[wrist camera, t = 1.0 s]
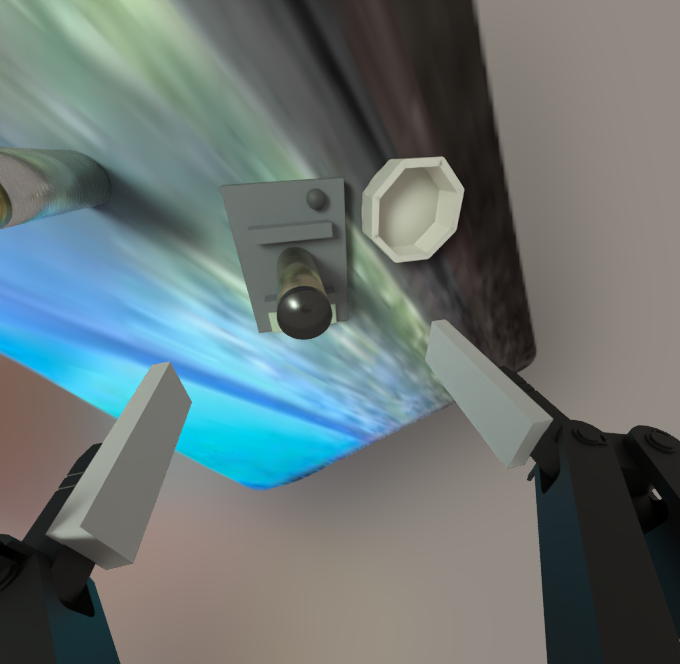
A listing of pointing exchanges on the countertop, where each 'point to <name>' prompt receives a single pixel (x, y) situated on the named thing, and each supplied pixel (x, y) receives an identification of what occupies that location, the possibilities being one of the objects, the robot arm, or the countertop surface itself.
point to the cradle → (289, 238)
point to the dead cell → (301, 296)
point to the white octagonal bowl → (411, 207)
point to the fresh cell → (47, 184)
